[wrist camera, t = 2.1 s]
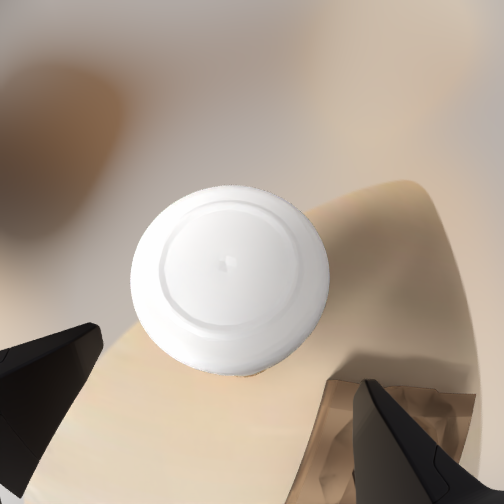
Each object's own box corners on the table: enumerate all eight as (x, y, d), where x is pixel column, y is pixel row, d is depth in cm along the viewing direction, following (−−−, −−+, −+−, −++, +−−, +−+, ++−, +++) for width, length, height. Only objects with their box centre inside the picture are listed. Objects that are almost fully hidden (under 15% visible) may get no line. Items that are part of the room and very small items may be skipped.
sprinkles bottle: (197, 342, 18) (92, 256, 6) (246, 299, 19) (234, 151, 7) (243, 391, 16) (218, 422, 4) (293, 345, 18) (374, 263, 6)
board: (394, 554, 8) (406, 565, 6) (258, 557, 10) (258, 573, 7) (457, 392, 15) (476, 391, 13) (327, 376, 17) (338, 376, 14)
